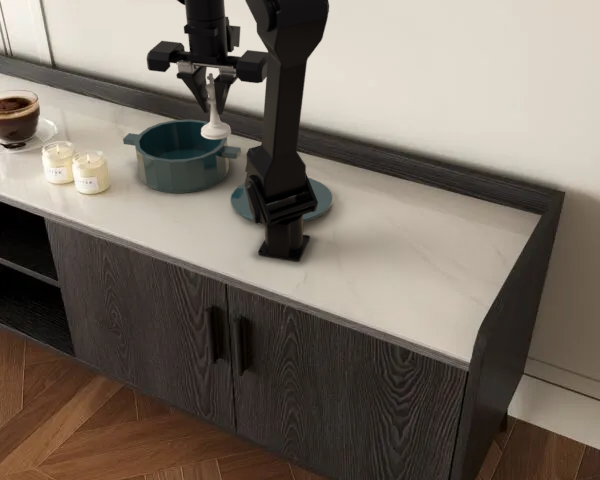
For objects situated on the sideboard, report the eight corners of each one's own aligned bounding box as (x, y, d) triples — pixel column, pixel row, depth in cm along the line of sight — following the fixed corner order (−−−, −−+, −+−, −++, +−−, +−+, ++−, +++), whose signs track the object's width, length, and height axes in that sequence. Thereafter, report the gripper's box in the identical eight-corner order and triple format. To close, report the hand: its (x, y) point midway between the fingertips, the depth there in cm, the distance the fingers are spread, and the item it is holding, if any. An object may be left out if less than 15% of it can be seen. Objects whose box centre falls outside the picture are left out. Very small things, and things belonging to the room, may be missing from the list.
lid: (312, 235, 116) (312, 206, 113) (214, 218, 121) (211, 189, 118) (344, 188, 129) (345, 160, 126) (254, 174, 134) (253, 147, 131)
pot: (224, 201, 126) (222, 169, 123) (110, 184, 131) (104, 152, 127) (254, 157, 138) (253, 126, 134) (148, 143, 143) (144, 113, 139)
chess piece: (212, 142, 122) (206, 82, 115) (195, 132, 125) (188, 73, 118) (237, 133, 124) (232, 74, 118) (220, 123, 127) (214, 65, 121)
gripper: (282, 3, 116) (284, 99, 126) (169, -8, 120) (180, 86, 130) (258, 28, 108) (262, 129, 118) (138, 15, 112) (152, 114, 122)
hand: (213, 113), depth 122 cm, fingers closed on chess piece
